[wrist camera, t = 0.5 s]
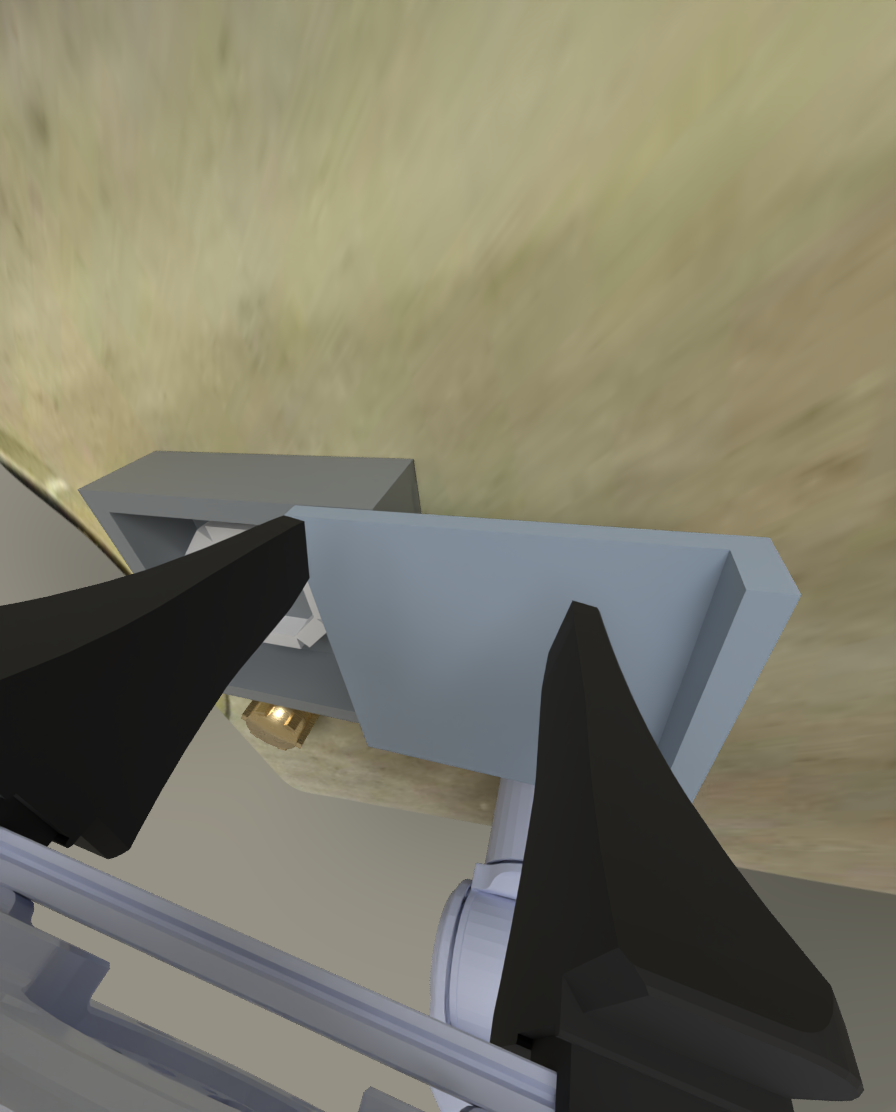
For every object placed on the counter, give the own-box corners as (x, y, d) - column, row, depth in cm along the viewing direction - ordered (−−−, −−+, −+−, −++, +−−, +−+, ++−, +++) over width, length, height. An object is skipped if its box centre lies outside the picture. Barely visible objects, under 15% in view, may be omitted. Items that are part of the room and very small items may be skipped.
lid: (659, 798, 22) (664, 854, 20) (373, 734, 27) (355, 774, 25) (769, 537, 13) (801, 595, 11) (294, 505, 17) (254, 541, 15)
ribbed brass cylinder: (330, 714, 38) (307, 757, 35) (283, 704, 39) (256, 744, 36) (314, 676, 35) (287, 719, 32) (263, 666, 36) (232, 707, 33)
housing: (444, 674, 30) (422, 737, 26) (253, 641, 34) (211, 690, 30) (413, 458, 20) (372, 509, 17) (155, 451, 25) (77, 489, 21)
